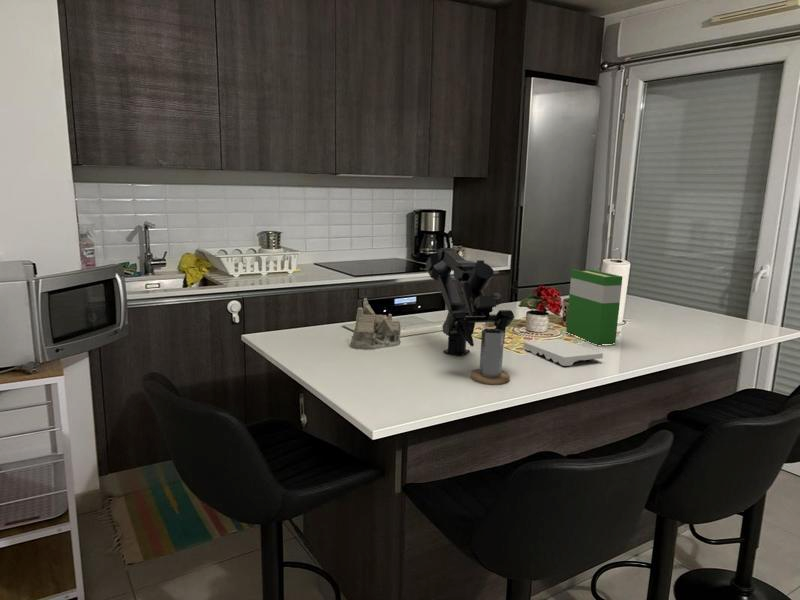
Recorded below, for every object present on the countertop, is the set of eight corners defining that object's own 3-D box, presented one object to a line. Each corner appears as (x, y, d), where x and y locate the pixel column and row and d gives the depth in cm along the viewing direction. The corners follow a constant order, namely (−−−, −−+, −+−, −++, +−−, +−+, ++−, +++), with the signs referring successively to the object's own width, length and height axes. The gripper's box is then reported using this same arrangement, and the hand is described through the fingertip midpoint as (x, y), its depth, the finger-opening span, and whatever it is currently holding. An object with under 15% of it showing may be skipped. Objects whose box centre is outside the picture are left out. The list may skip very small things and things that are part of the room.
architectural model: (502, 336, 212) (504, 316, 211) (487, 338, 209) (488, 318, 207) (496, 334, 215) (497, 314, 214) (481, 336, 212) (482, 316, 210)
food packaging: (522, 352, 195) (563, 368, 177) (523, 342, 194) (564, 357, 176) (559, 348, 201) (601, 364, 183) (559, 339, 200) (602, 353, 182)
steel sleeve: (476, 372, 166) (479, 329, 164) (495, 371, 168) (498, 328, 165) (484, 378, 161) (487, 334, 158) (503, 377, 162) (506, 333, 160)
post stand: (480, 369, 172) (481, 353, 171) (515, 377, 166) (516, 360, 165) (463, 379, 163) (464, 362, 162) (500, 387, 157) (501, 370, 156)
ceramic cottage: (343, 347, 190) (348, 301, 187) (361, 336, 206) (365, 294, 203) (390, 355, 186) (395, 309, 183) (403, 344, 202) (408, 301, 199)
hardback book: (565, 333, 218) (571, 269, 213) (582, 332, 221) (588, 268, 216) (597, 346, 202) (605, 277, 197) (615, 344, 205) (622, 276, 200)
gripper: (453, 283, 164) (465, 331, 156) (513, 282, 169) (529, 329, 161) (442, 305, 173) (453, 352, 165) (500, 303, 178) (514, 349, 170)
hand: (487, 345), depth 165 cm, fingers open, 9 cm apart
